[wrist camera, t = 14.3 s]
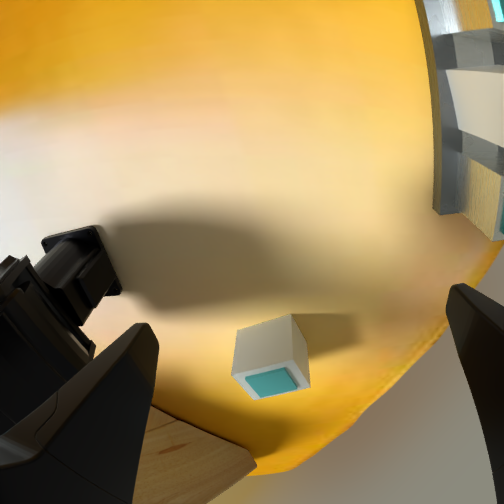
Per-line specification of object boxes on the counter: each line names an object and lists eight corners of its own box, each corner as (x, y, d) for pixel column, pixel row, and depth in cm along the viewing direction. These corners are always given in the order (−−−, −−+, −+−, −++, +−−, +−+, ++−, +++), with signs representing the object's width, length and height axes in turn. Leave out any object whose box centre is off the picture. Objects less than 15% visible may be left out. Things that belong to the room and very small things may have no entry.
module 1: (256, 356, 28) (253, 403, 24) (237, 329, 27) (230, 377, 22) (306, 342, 27) (310, 390, 22) (290, 313, 25) (293, 362, 21)
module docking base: (432, 208, 20) (477, 254, 14) (407, -26, 11) (455, -55, 6) (500, 201, 19) (548, 240, 13) (486, -8, 10) (541, -18, 5)
